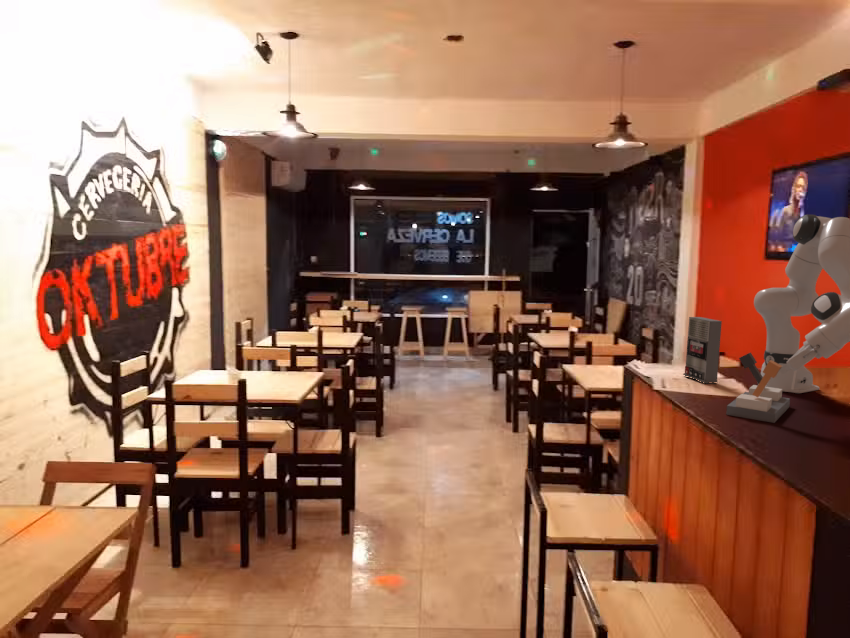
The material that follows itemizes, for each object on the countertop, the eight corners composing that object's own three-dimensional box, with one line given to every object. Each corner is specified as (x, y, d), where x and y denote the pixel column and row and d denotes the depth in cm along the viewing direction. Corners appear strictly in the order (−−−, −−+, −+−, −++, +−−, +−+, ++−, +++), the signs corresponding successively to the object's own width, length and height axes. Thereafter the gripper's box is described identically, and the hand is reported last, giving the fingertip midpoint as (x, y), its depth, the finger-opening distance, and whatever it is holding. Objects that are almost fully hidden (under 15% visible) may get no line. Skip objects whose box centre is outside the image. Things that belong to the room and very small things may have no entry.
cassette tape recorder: (682, 376, 268) (687, 317, 265) (695, 376, 269) (700, 316, 266) (703, 384, 254) (708, 321, 251) (717, 383, 256) (722, 321, 252)
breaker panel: (744, 400, 229) (746, 383, 228) (789, 407, 221) (790, 389, 220) (726, 414, 209) (727, 396, 208) (774, 422, 200) (776, 404, 200)
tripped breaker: (751, 391, 209) (771, 360, 205) (762, 397, 207) (782, 365, 203) (749, 393, 206) (769, 361, 202) (760, 399, 205) (780, 367, 200)
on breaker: (760, 387, 224) (740, 357, 227) (770, 383, 222) (750, 352, 225) (758, 389, 221) (738, 358, 224) (768, 384, 219) (748, 353, 222)
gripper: (824, 356, 185) (783, 385, 192) (831, 347, 201) (793, 374, 208) (808, 339, 187) (768, 368, 194) (816, 332, 203) (779, 359, 210)
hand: (781, 371), depth 201 cm, fingers closed, pressing on tripped breaker
